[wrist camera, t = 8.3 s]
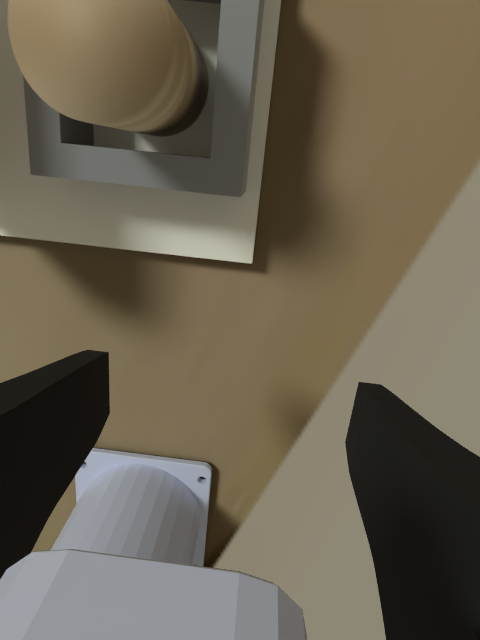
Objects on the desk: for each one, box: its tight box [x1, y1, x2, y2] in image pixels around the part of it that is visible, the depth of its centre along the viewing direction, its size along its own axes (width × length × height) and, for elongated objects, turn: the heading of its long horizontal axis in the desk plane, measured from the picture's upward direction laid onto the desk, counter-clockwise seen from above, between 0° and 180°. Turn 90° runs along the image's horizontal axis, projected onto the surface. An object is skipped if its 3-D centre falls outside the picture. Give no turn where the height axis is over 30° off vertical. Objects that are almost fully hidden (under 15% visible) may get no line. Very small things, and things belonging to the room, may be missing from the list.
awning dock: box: [0, 0, 281, 264], centre depth 14 cm, size 14×14×8 cm
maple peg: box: [7, 0, 209, 137], centre depth 14 cm, size 4×4×7 cm
